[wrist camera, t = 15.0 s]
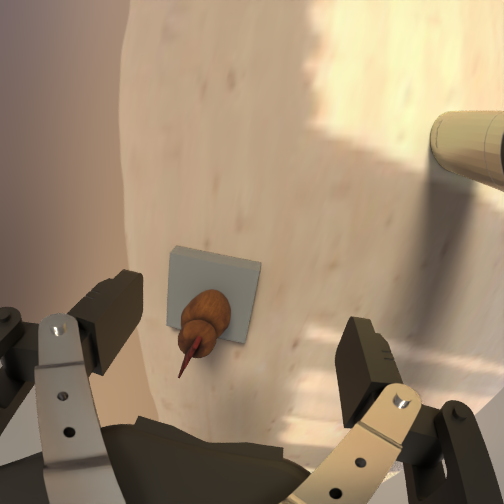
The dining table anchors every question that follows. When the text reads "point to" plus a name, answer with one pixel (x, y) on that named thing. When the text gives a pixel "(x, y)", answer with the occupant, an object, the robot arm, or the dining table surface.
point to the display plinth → (212, 286)
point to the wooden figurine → (203, 324)
